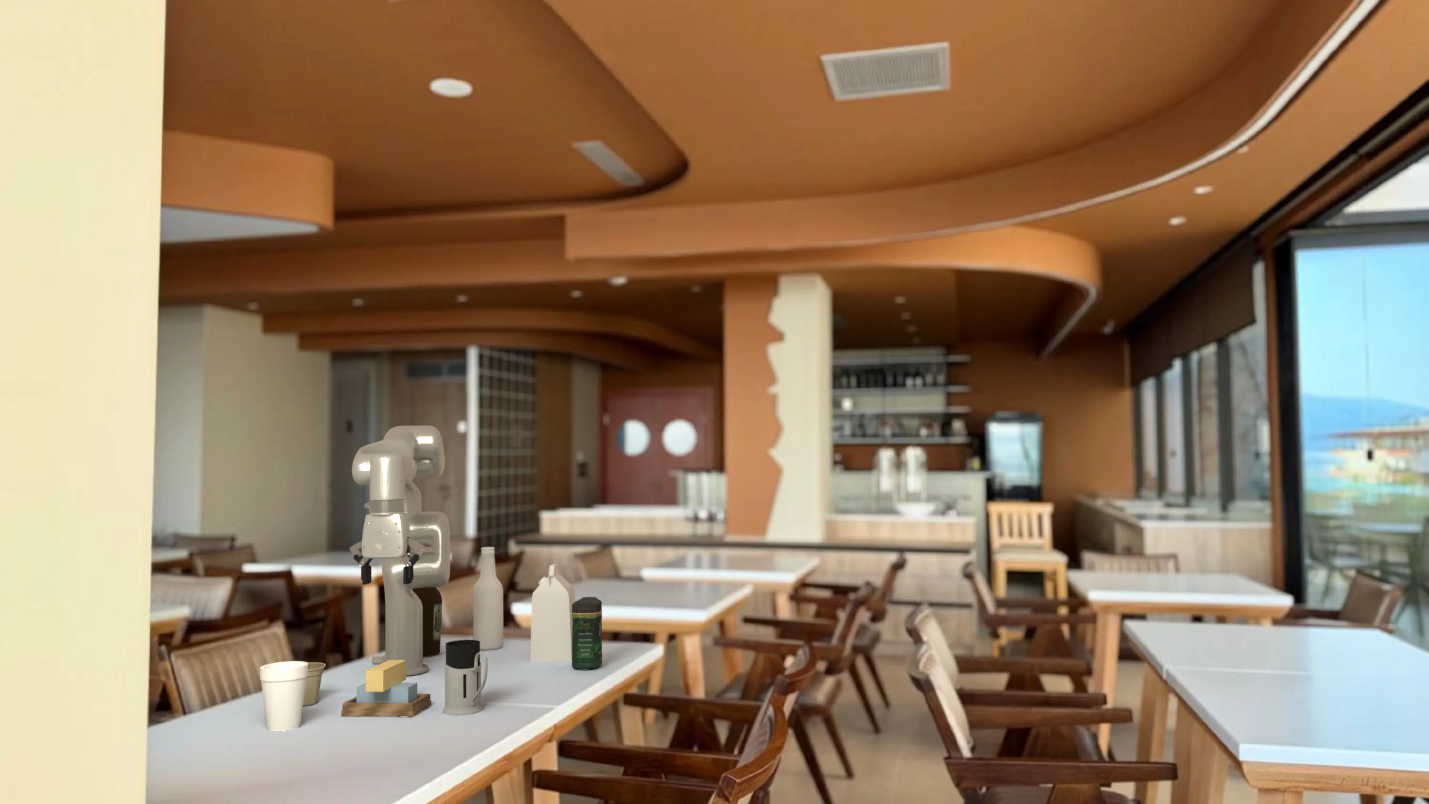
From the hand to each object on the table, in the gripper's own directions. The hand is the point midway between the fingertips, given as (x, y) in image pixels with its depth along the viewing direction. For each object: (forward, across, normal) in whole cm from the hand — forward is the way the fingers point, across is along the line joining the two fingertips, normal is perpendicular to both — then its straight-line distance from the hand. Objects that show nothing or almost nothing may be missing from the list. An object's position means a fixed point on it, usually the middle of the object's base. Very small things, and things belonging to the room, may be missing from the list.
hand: (387, 583), depth 228 cm
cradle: (+28, 0, 0) cm, 28 cm away
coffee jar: (+28, +34, +49) cm, 66 cm away
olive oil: (+28, -19, +66) cm, 74 cm away
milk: (+29, +21, +63) cm, 72 cm away
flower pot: (+28, -23, +6) cm, 37 cm away
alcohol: (+28, -3, +76) cm, 81 cm away
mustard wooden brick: (+23, 0, 0) cm, 23 cm away
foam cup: (+28, -16, -15) cm, 36 cm away
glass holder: (+28, +19, 0) cm, 34 cm away
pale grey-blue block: (+27, 0, 0) cm, 27 cm away
